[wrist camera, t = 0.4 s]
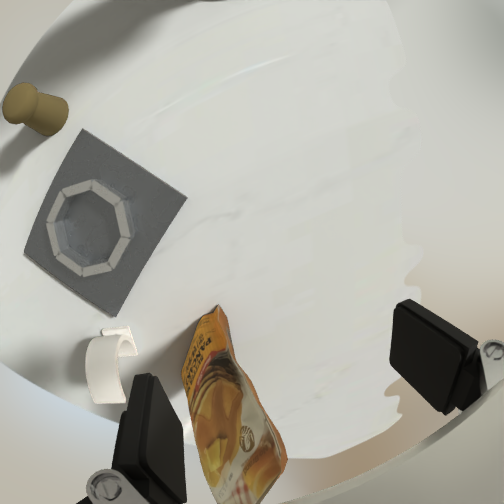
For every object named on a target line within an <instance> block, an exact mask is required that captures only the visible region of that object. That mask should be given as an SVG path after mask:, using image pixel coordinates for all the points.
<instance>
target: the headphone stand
mask: <svg viewBox="0 0 504 504" xmlns="http://www.w3.org/2000/svg"><path fill="white" fill-rule="evenodd" d="M102 333H103V336H102V337H95V338H93V339H92V340H91V341H90V343H89V345H88V348H87V352H86V359H85V370H86V378H87V383H88V387H89V391H90V394H91V396H92V398H93V401H94V402H95V403H125V402H126V397H125V395H124V392H123V389H122V386H121V382H120V377H119V371H118V357H123V356H134V355H137V354H138V351H137V348H136V345H135V343H134V340H133V337H132V334H131V331H130V328H129V326H123V327H114V328H104V329H103V330H102Z"/></svg>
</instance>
